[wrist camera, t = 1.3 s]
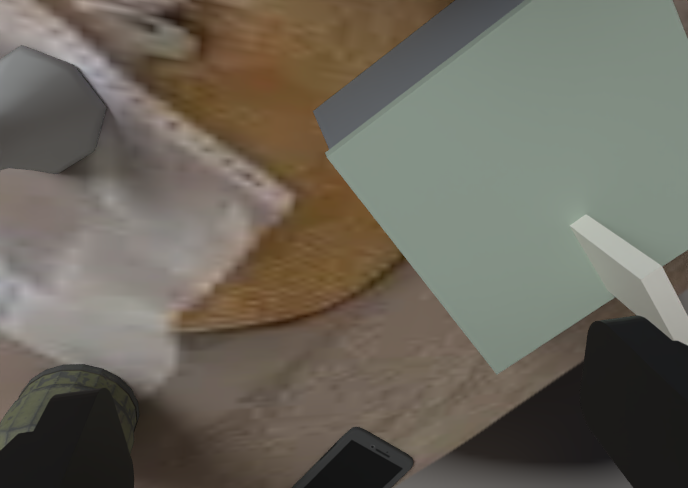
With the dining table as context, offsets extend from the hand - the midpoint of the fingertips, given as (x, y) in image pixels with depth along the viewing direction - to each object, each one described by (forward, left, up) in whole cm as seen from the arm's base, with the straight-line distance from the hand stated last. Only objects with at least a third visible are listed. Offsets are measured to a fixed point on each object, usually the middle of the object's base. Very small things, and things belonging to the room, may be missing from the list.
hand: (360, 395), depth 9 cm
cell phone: (+18, +29, -29) cm, 45 cm away
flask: (+12, -9, -29) cm, 32 cm away
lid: (-9, +9, -18) cm, 22 cm away
